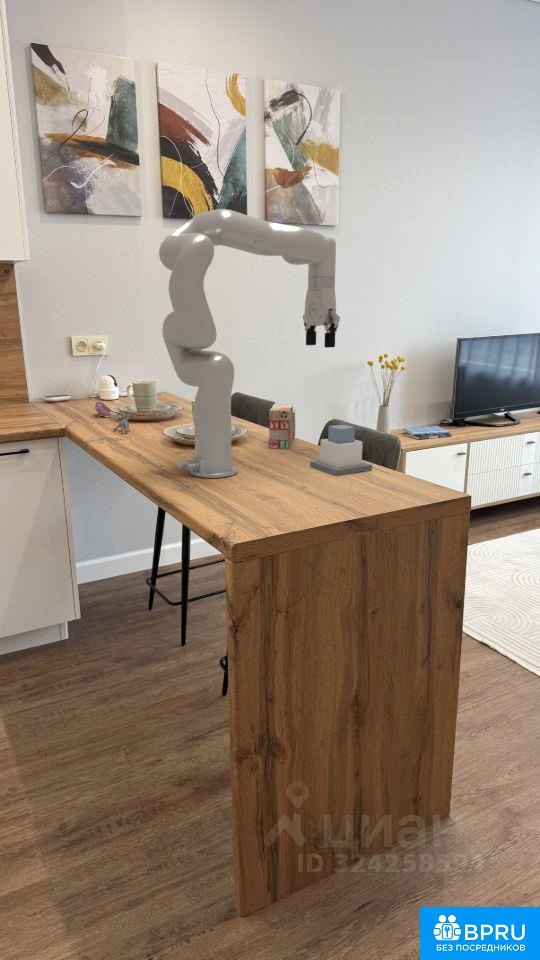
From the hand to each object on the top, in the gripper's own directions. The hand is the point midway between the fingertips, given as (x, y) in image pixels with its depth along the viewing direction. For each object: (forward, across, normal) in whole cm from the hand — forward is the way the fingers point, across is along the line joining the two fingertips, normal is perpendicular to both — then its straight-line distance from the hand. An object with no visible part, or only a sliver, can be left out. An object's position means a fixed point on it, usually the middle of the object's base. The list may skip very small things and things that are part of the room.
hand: (320, 346), depth 200 cm
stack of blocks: (+32, -20, 0) cm, 37 cm away
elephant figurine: (+32, -60, -40) cm, 78 cm away
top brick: (+25, +19, -5) cm, 32 cm away
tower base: (+32, +19, -5) cm, 37 cm away
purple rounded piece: (+32, -96, -37) cm, 107 cm away
